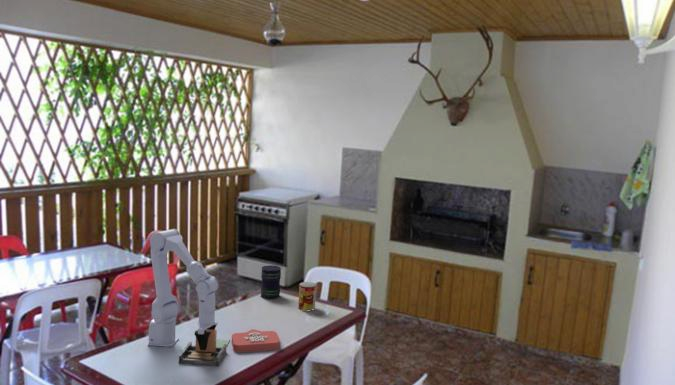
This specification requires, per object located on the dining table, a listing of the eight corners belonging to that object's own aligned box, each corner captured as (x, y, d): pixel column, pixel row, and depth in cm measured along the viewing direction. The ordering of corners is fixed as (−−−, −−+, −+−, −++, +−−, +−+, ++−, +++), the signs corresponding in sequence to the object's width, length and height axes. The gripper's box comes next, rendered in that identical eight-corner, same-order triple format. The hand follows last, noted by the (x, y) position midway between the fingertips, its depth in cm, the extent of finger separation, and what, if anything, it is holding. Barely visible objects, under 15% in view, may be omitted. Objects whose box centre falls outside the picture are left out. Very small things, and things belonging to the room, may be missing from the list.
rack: (178, 363, 178) (178, 355, 177) (189, 349, 190) (189, 341, 189) (218, 366, 177) (218, 357, 177) (226, 351, 189) (226, 344, 189)
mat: (193, 347, 192) (193, 346, 191) (199, 339, 199) (199, 338, 199) (224, 349, 191) (224, 348, 191) (229, 340, 199) (229, 340, 199)
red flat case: (274, 326, 208) (281, 341, 194) (274, 335, 208) (280, 350, 194) (230, 329, 203) (234, 344, 188) (230, 338, 203) (233, 354, 189)
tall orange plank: (195, 354, 185) (195, 331, 184) (197, 351, 188) (197, 328, 187) (214, 355, 185) (214, 332, 184) (215, 353, 188) (216, 329, 187)
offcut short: (190, 360, 181) (190, 354, 181) (192, 357, 183) (192, 352, 183) (209, 361, 181) (209, 355, 181) (211, 359, 183) (211, 353, 183)
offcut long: (187, 363, 179) (187, 357, 179) (189, 360, 181) (189, 354, 181) (211, 364, 179) (211, 359, 178) (213, 362, 181) (213, 356, 180)
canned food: (297, 305, 245) (298, 281, 243) (313, 305, 246) (314, 281, 245) (299, 311, 237) (300, 286, 236) (315, 311, 238) (317, 286, 237)
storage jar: (268, 300, 250) (269, 271, 248) (256, 295, 256) (257, 267, 255) (283, 296, 257) (285, 268, 256) (271, 292, 264) (272, 264, 262)
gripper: (212, 317, 178) (211, 354, 179) (222, 304, 192) (221, 338, 193) (192, 316, 178) (191, 353, 179) (204, 303, 192) (203, 337, 194)
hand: (205, 345), depth 186 cm, fingers open, 7 cm apart
